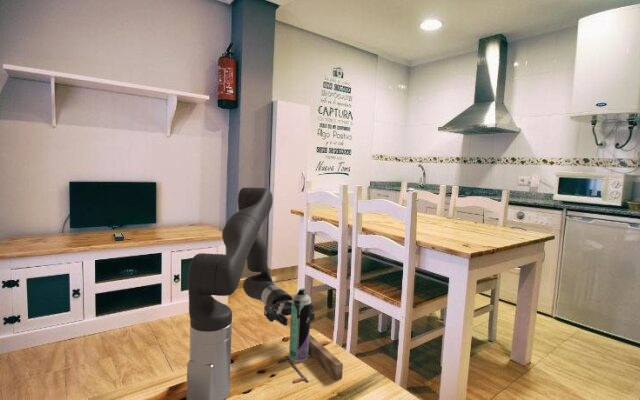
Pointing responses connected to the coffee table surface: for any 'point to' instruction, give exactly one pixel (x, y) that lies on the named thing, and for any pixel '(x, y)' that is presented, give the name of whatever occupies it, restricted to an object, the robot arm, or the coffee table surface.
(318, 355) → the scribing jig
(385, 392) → the coffee table surface
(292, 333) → the spray can
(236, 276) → the robot arm
